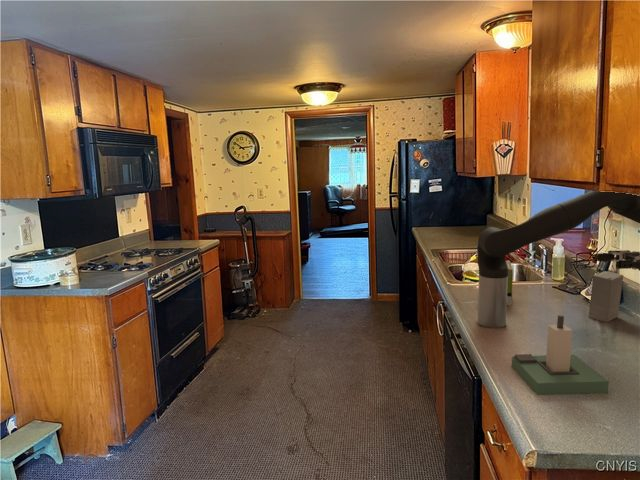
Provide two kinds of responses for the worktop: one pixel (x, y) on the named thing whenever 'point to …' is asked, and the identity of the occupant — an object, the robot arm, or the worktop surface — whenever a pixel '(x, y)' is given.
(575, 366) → the green square socket base
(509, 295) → the tea box
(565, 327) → the plug
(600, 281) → the skincare box
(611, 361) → the worktop surface
